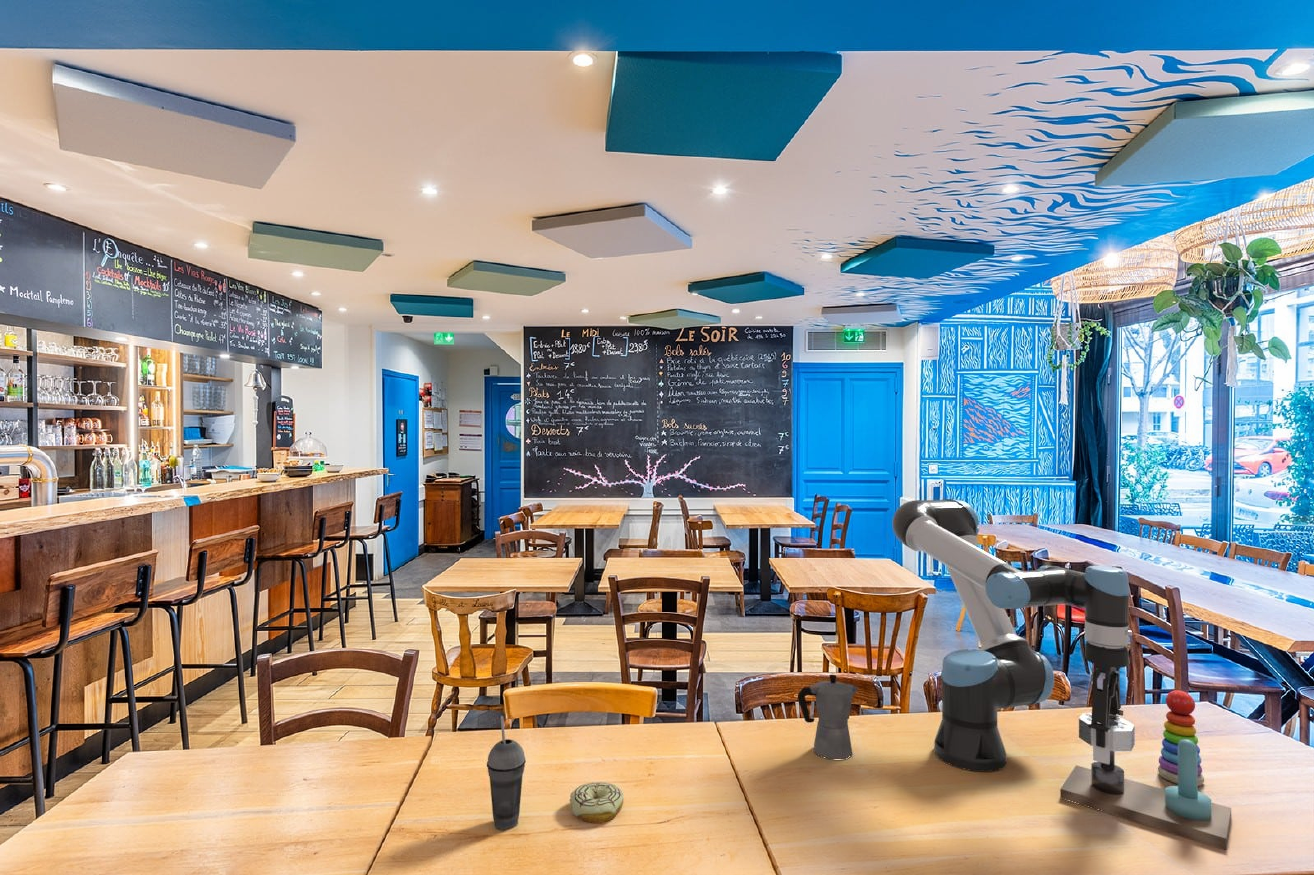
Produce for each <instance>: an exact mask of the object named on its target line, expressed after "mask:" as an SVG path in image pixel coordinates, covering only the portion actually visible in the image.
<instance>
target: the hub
mask: <svg viewBox="0 0 1314 875" xmlns="http://www.w3.org/2000/svg"><path fill="white" fill-rule="evenodd" d="M1198 789H1199V786H1198V753H1197V746H1196V745H1195V743H1193V742H1192V741H1190V740H1187V739H1183V740H1181V741H1179V743H1178V784H1177V785H1172V786H1171V785H1170V786H1166V787H1165V788H1164V790H1165V806H1166V808H1167V809H1168V810H1169V811H1171V812H1172V813H1174V814H1176V815H1178V816H1181V817H1184V818H1187V819H1191V820H1197V821H1207V820H1210V819H1211V818H1212V812H1211V803H1212V799H1211V798H1210V796H1208V795H1206V794H1205V793H1203V792H1201V791H1199V790H1198Z"/></svg>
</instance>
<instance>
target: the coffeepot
mask: <svg viewBox="0 0 1314 875" xmlns="http://www.w3.org/2000/svg"><path fill="white" fill-rule="evenodd" d="M858 690H860V687H858V686H857V685H854V684H849V683H844V682H840V681H837V675H836V674H830V675H829V681H827V680H823V681H819V682H816V683H813V685H812V686H811V685H810V686H803V687H802V688H801V690H800V691H798V692H799V693H797V701H798V703H799V706H800V709H801V712H802V716H803V719H804V721H805V722H806V723H814V722H815V717H810V711H809V708H808V705H807V700H806V696H812V697H813V696H814V697H815V698H814V699H815V704H816V711H817V716H818V721H817V725H816V730H815V737H814V742H813V751H814V754H816V755H817V754H819V755H820V756H822V757H821V758H823V757H825V758H827V759H826V760H830V759H845V760H847V759H846V758H848V757H849V756H851V757H853V756H852V755H854V754H853V749H852V741H851V736H850V730H849V725H848V724H849V723H848V722H849V721H848V720H849V719H850V716H851V709H852V703H853V702H852V700H853V698H854V696H855V694H856V693H857V691H858ZM820 756H819V757H820ZM825 758H824V759H825ZM848 759H849V758H848Z"/></svg>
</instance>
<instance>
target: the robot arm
mask: <svg viewBox="0 0 1314 875" xmlns="http://www.w3.org/2000/svg"><path fill="white" fill-rule="evenodd" d="M891 524H892V530H893V533H894V535H895V537H896V538H897V539H898V541H899V542H901V543H902V544H903V545H905V547H907V548H909V549H911V550H912V551H915V552H923V553H924V554H927V555H928V556H930V558H932V559H934V560H936V561H938V562H939V563H941V564H943V565H944V566H945V568H946V570H947V572H948V574H949V576H950V578H951V581H952V582H953V584H954V588H955V590H956V592H957V595H958V596H959V599H960V601H961V603H962V605H963V608H964V610H965V611H966V612H965V613H966V615H967V616H968V619H969V622H970V623H971V626H972V628H973V630H974V632H975V635H976V638H977V639H978V642H979V644H980V648H979V649H965V648H964V649H958V650H954V651H951V652H949V653H948V654H946V655H945V656H944V657H943V660H942V665H941V666H942V668H941V673H940V676H941V700H942V701H941V703H942V704H941V706H942V707H941V708H942V709H941V712H942V714H941V715H942V716H941V722H940V725H939V727H938V730H937V732H936V736H935V739H934V744H933V746H934V751H935V752H934V754H935V756H936V757H937V756H938V759H940V760H941V759H942V760H941V761H943V762H945V763H946V764H948V763H950V764H949V765H951V764H952V765H951V766H953V767H957V768H959V769H963V768H965V769H964V770H967V769H969V770H968V771H973V770H974V772H995V771H999V769H1000V770H1002V769H1003V768H1005V767H1006V766H1005V765H1007V751H1006V749H1005V745H1004V743H1003V739H1002V737H1001V733H1000V731H999V726H998V710H1001V709H1011V708H1016V707H1023V706H1027V707H1029V706H1033V705H1035V704H1039V703H1043V702H1045V701H1046V700H1048V699H1049V698H1050V697H1051V695H1052V693H1053V690H1054V689H1053V688H1054V686H1055V674H1054V670H1053V668H1052V665H1051V663H1050V661H1049V660H1048V659H1047V657H1046V656H1045V655H1043V654H1041V653H1040V652H1039V651H1035V650H1032V648H1031V646H1030V645H1029V642H1028V640H1027V639H1026V638H1024V637H1022V636H1019V635H1017V632H1016V631H1015V629H1014V626H1013V624H1012V622H1011V620H1010V617H1009V615H1008V613H1007V612H1006V609H1009V610H1018V609H1024V608H1030V607H1031V608H1033V607H1045V606H1055V605H1057V606H1058V605H1066V606H1071V607H1076V608H1079V609H1082V610H1084V639H1085V640H1086V641H1085V643H1084V658H1085V660H1086V661H1087V662H1089V663H1091V664H1095V666H1097V667H1096V669H1095V670H1094V671H1093V673H1092V698H1091V699H1092V701H1091V702H1092V704H1091V713H1092V719H1091V724H1089V728H1093V746H1092V749H1093V750H1092V752H1093V753H1092V757H1093V758H1092V759H1093V760H1092V761H1093V762H1102V763H1105V764H1110V730H1109V717H1110V715H1112V716H1116V717H1120V716H1124V710H1122V704H1121V686H1120V684H1121V683H1120V681H1121V680H1120V677H1121V676H1120V675H1121V674H1120V669H1121V668H1126V667H1128V666H1129V664H1130V648H1128V645H1129V641H1130V640H1129V637H1131V636H1133V632H1132V630H1128V629H1129V625H1130V623H1129V621H1130V620H1129V607H1130V594H1131V590H1130V584H1129V583H1130V582H1129V575H1128V573H1127V571H1126V570H1124V569H1122V568H1120V567H1115V566H1107V565H1090V566H1087V567H1086V568H1085V571H1084V572H1082V571H1076V570H1073V569H1068V568H1065V567H1061V566H1059V565H1058V566H1057V565H1056V566H1055V565H1053V566H1052V565H1042V566H1040V567H1038V569H1035V570H1020V569H1018V568H1017V567H1014V566H1012V565H1010V564H1008V563H1007V562H1005V561H1003V560H1002V559H999V558H998V557H996V556H994V555H992V554H991V553H989V552H987V551H985V550H983V549H982V548H979V547H978V546H977V543H978V541H979V539H978V538H979V537H977V536H978V535H979V532H980V527H979V525H980V520H979V517H978V514H977V512H976V511H975V510H974V508H973V507H972V506H971V505H970V504H969V503H967V502H966V501H963V500H960V499H953V498H952V499H951V498H944V499H943V498H942V499H928V500H927V499H925V500H924V499H922V500H920V499H919V500H916V499H915V500H911V501H907V502H905V503H903V504H902V505H900V506H899V507H898V508H897V509H896V511H895V513H894V515H893V517H892V522H891ZM1099 723H1101V724H1099ZM1001 768H1002V769H1001Z"/></svg>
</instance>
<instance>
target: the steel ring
mask: <svg viewBox="0 0 1314 875" xmlns="http://www.w3.org/2000/svg"><path fill="white" fill-rule="evenodd" d="M1091 719H1092V712H1083V713H1082V714H1081V715H1080V716H1079V718H1078V738H1079V739H1080V740H1082V741H1083V742H1085V743H1087V744H1088V745H1089V746H1091V747H1093V728H1089V724H1091ZM1099 724H1101V723H1099ZM1109 730H1110V751H1115V752H1132V751H1133V748H1134V747H1135V742H1136V740H1135V739H1136V738H1135V737H1136V736H1135V734H1136V733H1135V730H1136V729H1135V724H1133V723H1131V722H1130V721H1128V720H1126V719H1124V718H1122V717H1120V716H1119V717H1116V716H1112V715H1110V717H1109Z"/></svg>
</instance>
